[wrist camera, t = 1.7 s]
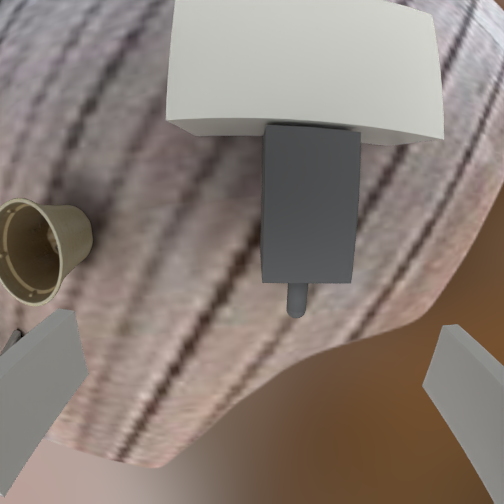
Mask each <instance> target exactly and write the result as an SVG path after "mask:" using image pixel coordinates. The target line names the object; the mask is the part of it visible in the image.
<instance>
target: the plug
mask: <svg viewBox="0 0 504 504" xmlns="http://www.w3.org/2000/svg"><path fill="white" fill-rule="evenodd" d="M360 154H361V132H357V131H347V130H338V129H327V128H314V127H299V126H279V125H266V127H265V131H264V135H263V147H262V196H261V239H260V254H261V269H262V283H288V294H287V313H288V314H289V315H290V316H291V317H293V318H300V317H302V316H303V315H304V313H305V311H306V303H307V291H308V283H351V279H352V270H353V261H354V251H355V241H356V229H357V216H358V201H359V183H360Z"/></svg>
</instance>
